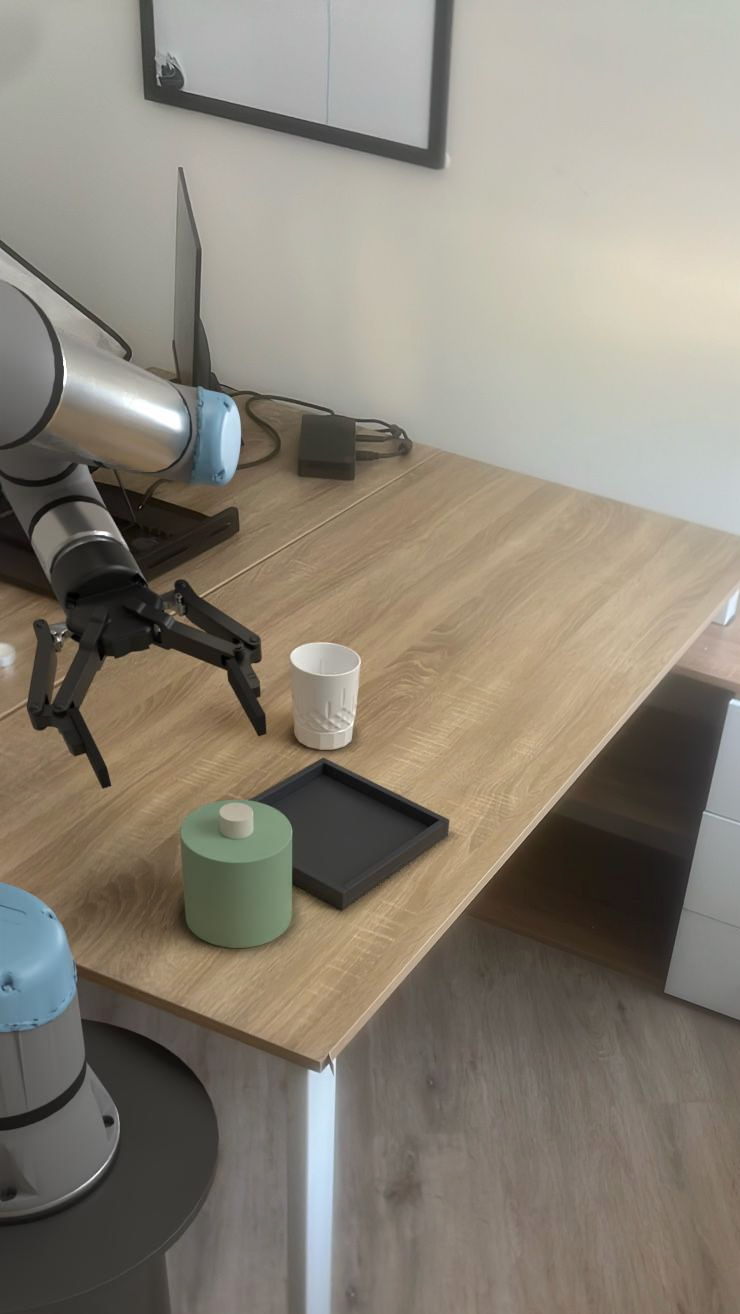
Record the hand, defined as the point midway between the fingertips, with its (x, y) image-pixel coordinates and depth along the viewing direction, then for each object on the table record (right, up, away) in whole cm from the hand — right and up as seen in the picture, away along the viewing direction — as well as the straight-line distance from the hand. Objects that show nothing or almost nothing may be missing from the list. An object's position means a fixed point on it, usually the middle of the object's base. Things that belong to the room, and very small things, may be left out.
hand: (185, 751), depth 105 cm
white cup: (+4, +9, +44) cm, 45 cm away
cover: (0, -13, +17) cm, 22 cm away
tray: (+7, -4, +29) cm, 30 cm away
